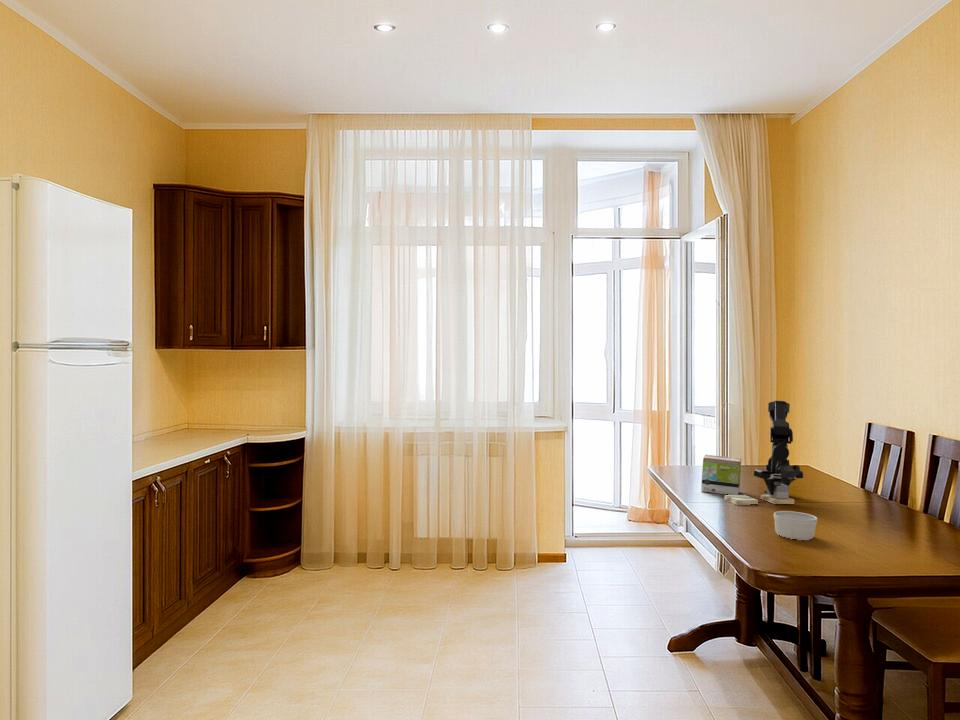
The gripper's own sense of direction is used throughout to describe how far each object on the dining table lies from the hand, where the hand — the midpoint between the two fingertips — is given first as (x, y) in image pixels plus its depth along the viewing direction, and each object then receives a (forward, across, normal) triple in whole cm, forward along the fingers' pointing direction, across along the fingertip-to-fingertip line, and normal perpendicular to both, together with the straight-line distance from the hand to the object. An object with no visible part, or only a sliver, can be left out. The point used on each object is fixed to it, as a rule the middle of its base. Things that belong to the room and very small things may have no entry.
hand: (777, 495), depth 287 cm
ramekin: (+3, -25, -47) cm, 53 cm away
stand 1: (+3, -16, 0) cm, 16 cm away
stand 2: (+3, 0, 0) cm, 3 cm away
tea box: (+3, -14, +19) cm, 24 cm away
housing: (0, 0, 0) cm, 0 cm away
